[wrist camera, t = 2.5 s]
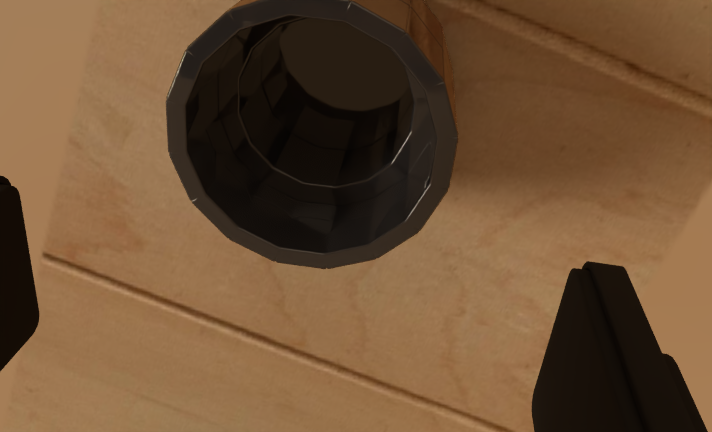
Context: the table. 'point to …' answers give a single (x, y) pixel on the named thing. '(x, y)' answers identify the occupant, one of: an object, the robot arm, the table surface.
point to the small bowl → (316, 126)
